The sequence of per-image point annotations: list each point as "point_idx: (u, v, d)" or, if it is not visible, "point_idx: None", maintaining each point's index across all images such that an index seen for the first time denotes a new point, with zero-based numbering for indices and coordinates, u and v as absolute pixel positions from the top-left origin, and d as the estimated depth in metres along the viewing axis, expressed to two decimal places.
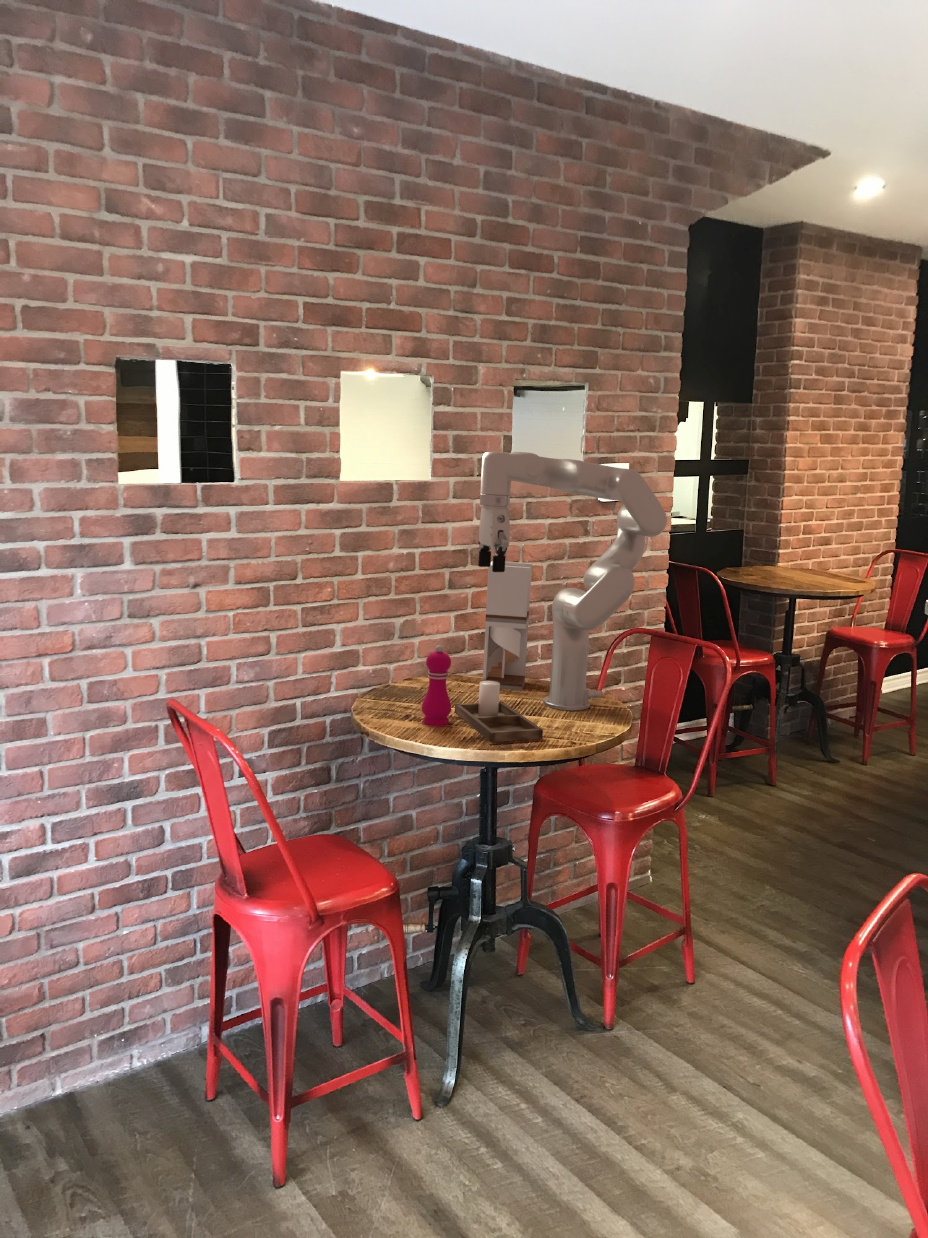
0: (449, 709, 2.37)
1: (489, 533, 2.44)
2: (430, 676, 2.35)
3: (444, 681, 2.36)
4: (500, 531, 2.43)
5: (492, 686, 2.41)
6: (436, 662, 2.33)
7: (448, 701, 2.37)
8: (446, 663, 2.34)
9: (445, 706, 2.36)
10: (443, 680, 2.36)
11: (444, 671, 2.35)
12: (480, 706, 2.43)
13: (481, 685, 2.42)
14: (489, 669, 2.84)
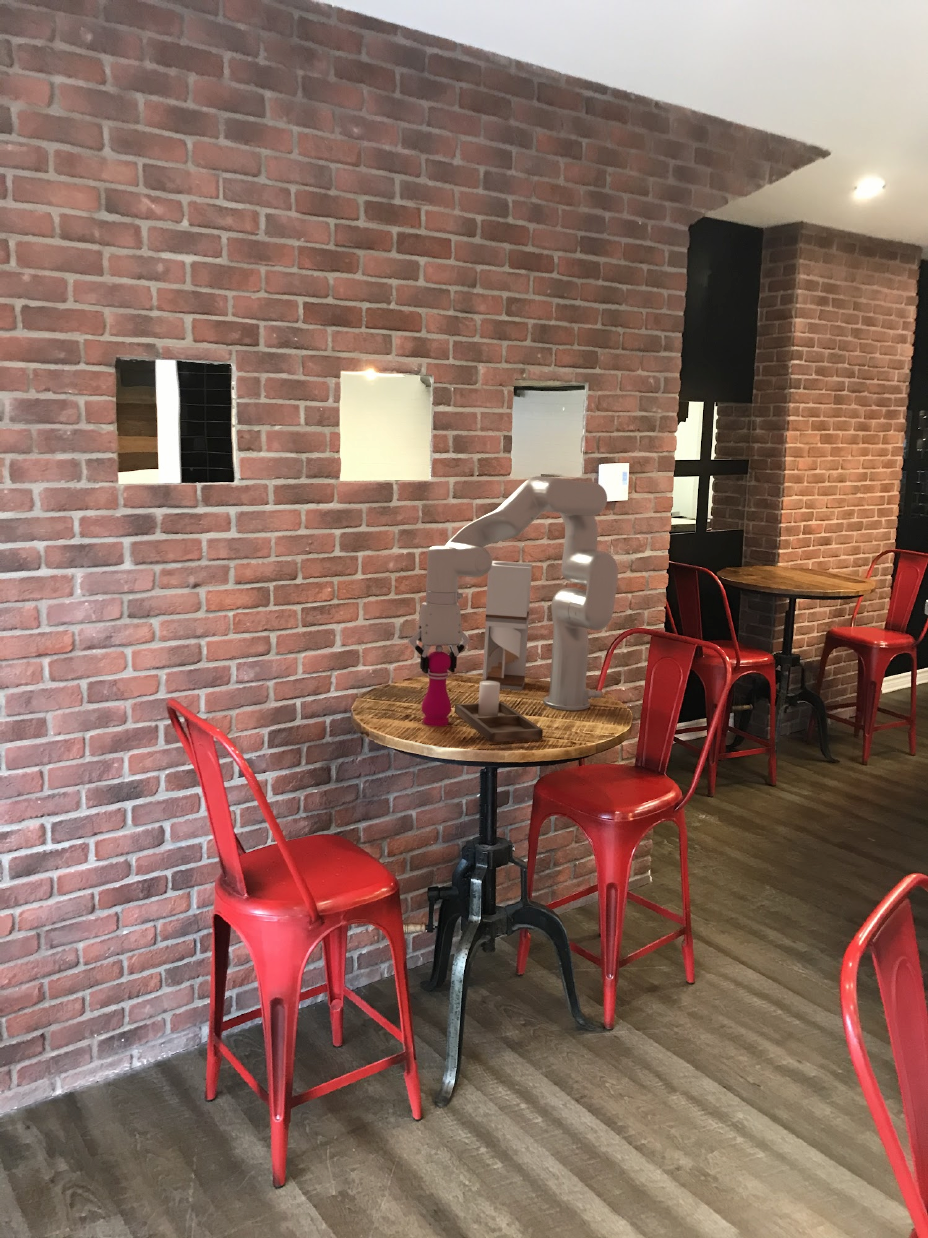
0: (449, 709, 2.37)
1: (455, 631, 2.34)
2: (430, 676, 2.35)
3: (444, 681, 2.36)
4: None
5: (492, 686, 2.41)
6: (436, 662, 2.33)
7: (448, 701, 2.37)
8: (446, 663, 2.34)
9: (445, 706, 2.36)
10: (443, 680, 2.36)
11: (444, 671, 2.35)
12: (480, 706, 2.43)
13: (481, 685, 2.42)
14: (489, 669, 2.84)
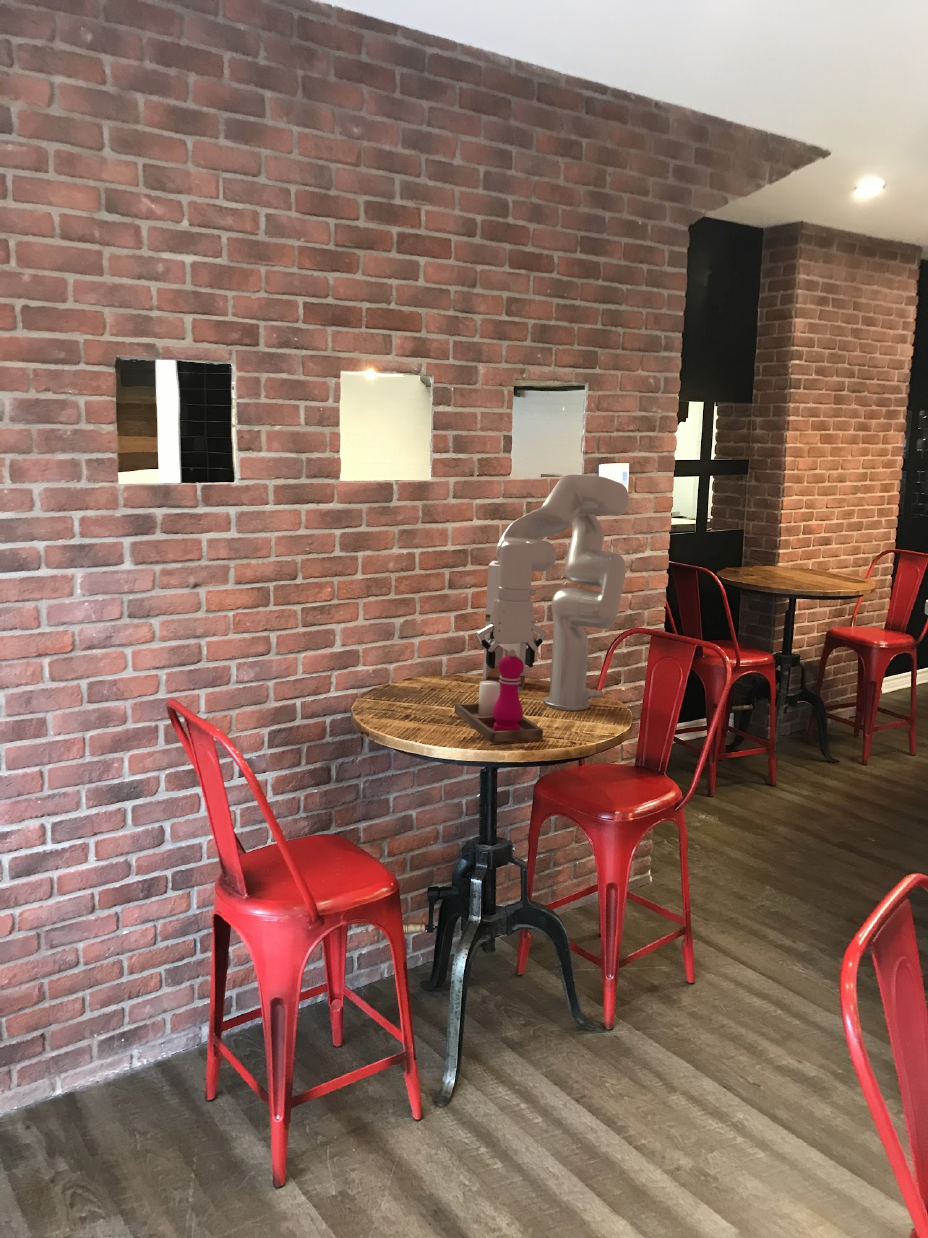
0: (521, 715, 2.32)
1: (528, 629, 2.28)
2: (502, 681, 2.30)
3: (516, 686, 2.31)
4: None
5: (492, 686, 2.41)
6: (510, 667, 2.28)
7: (520, 707, 2.32)
8: (520, 668, 2.29)
9: (517, 712, 2.30)
10: (515, 685, 2.30)
11: (517, 676, 2.30)
12: (480, 706, 2.43)
13: (481, 685, 2.42)
14: (489, 669, 2.84)
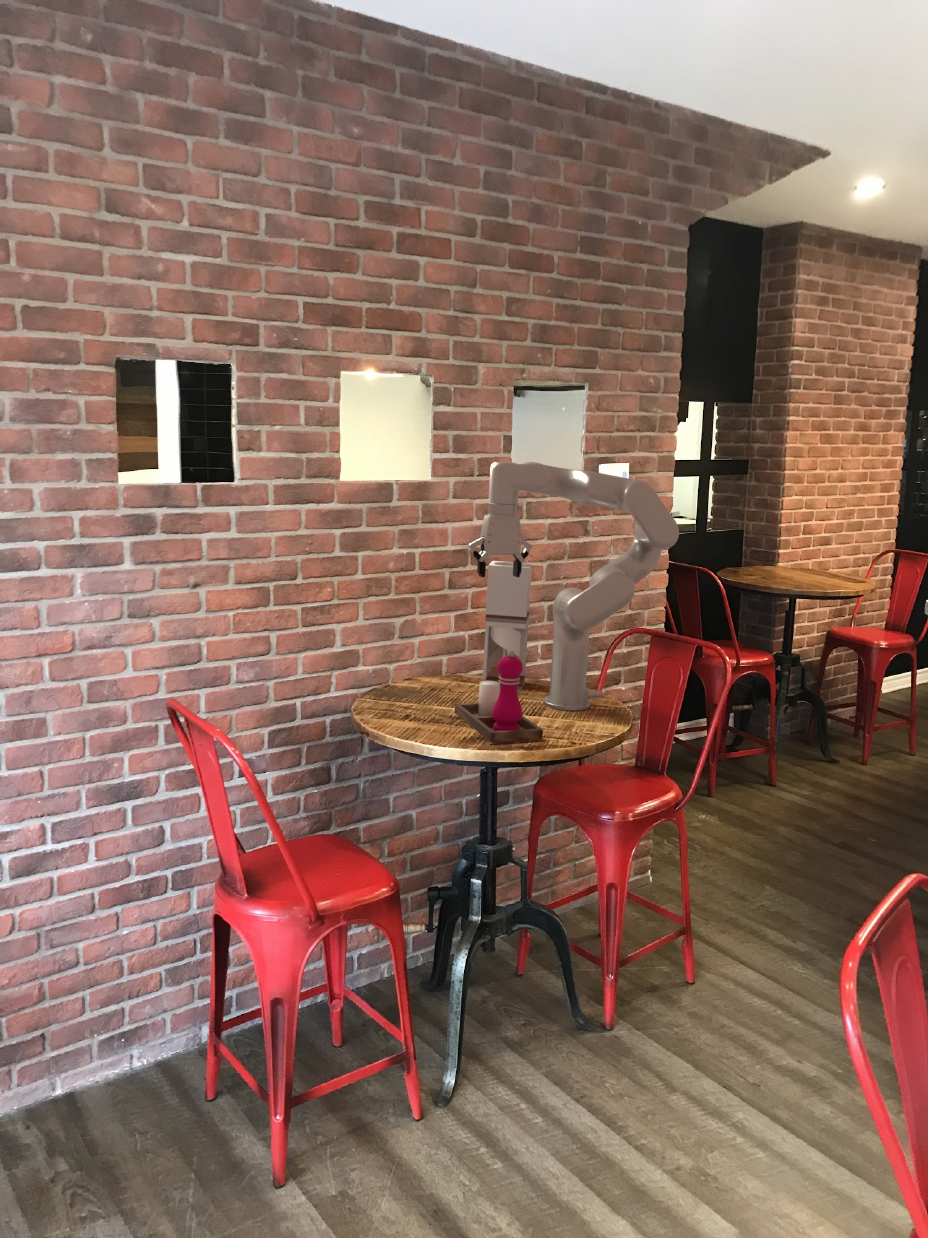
0: (521, 715, 2.32)
1: (515, 541, 2.52)
2: (502, 681, 2.30)
3: (516, 687, 2.31)
4: None
5: (492, 686, 2.41)
6: (508, 667, 2.28)
7: (520, 707, 2.32)
8: (519, 668, 2.29)
9: (517, 712, 2.30)
10: (515, 686, 2.30)
11: (516, 676, 2.30)
12: (480, 706, 2.43)
13: (481, 685, 2.42)
14: (489, 669, 2.84)
